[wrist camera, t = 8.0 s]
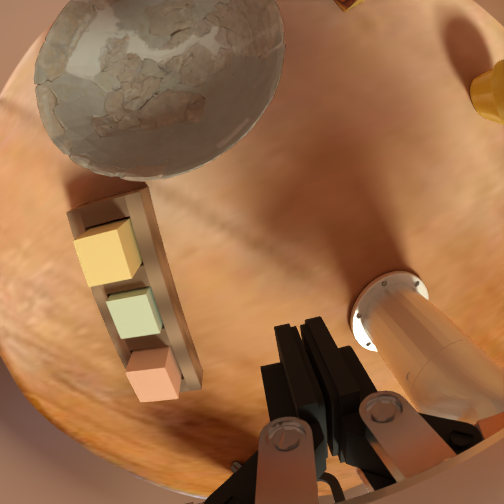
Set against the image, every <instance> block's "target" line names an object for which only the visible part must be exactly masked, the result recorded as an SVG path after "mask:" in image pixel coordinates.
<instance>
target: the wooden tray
mask: <svg viewBox="0 0 504 504" xmlns="http://www.w3.org/2000/svg"><path fill="white" fill-rule="evenodd" d="M66 213H67V216H68V220H69V223H70V227H71V230H72V233H73V237H74V240H75V239H76V238H77V237H79V236H80V235H82V234H83V233H84V232H86V231H87V230H89V229H90V228H92V227H96V226H99V224H101V223H105V222H108V221H112V220H116V219H120V218H124V217H128V216H130V218H131V222H132V226H133V229H134V233H135V237H136V240H137V244H138V247H139V250H140V254H141V257H142V260H143V262H142V263H141V265H140V266H139V268H138V270H137V271H136V273H135V274H134V276H133V278H132V279H127V280H122V281H117V282H112V283H107V284H102V285H97V286H92V287H91V290H92V292H93V295H94V297H95V300H96V303H97V305H98V308H99V310H100V313H101V315H102V317H103V320H104V322H105V325H106V327H107V329H108V332H109V334H110V336H111V339H112V341H113V343H114V345H115V347H116V350H117V352H118V354H119V356H120V358H121V360H122V362H123V365H124V367H125V369H126V368H127V365H128V362H129V360H130V357H131V354H132V352H133V350H140V349H147V348H154V347H161V346H167V345H171V346H172V349H173V351H174V354H175V356H176V359H177V362H178V364H179V367H180V369H181V372H182V377H181V384H180V391H179V392H186V391H193V390H200V389H202V376H203V370H202V367H201V364H200V361H199V359H198V356H197V353H196V350H195V347H194V344H193V341H192V338H191V335H190V332H189V329H188V326H187V323H186V320H185V317H184V314H183V311H182V307H181V304H180V301H179V298H178V294H177V291H176V288H175V285H174V281H173V278H172V274H171V271H170V268H169V264H168V261H167V257H166V253H165V250H164V246H163V242H162V239H161V235H160V231H159V228H158V224H157V220H156V216H155V212H154V208H153V204H152V200H151V196H150V192H149V187H145V188H141V189H137V190H133V191H129V192H126V193H122V194H118V195H115V196H111V197H108V198H104V199H101V200H97V201H94V202H91V203H87V204H84V205H81V206H79V207H77V208H74V209H72V210H70V211H68V212H66ZM147 286H151V289H152V292H153V295H154V298H155V301H156V304H157V307H158V310H159V313H160V316H161V318H162V321H163V325H162V328H161V332H160V333H158V334H152V335H145V336H138V337H132V338H125V339H121V338H120V335H119V333H118V331H117V328H116V326H115V323H114V321H113V319H112V316H111V314H110V311H109V309H108V306H107V303H106V301H107V299H108V298H109V296H110V295H111V293H116V292H121V291H126V290H131V289H136V288H142V287H147Z"/></svg>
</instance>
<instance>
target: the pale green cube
mask: <svg viewBox="0 0 504 504" xmlns="http://www.w3.org/2000/svg"><path fill="white" fill-rule="evenodd" d="M106 303H107V306H108V309H109V311H110V314H111V316H112V319H113V321H114V323H115V326H116V328H117V331H118V333H119V335H120V338H121V339H125V338H132V337H138V336H145V335H152V334H158V333H160V332H161V328H162V325H163V321H162V318H161V316H160V313H159V310H158V307H157V304H156V301H155V298H154V295H153V292H152V289H151V286H147V287H142V288H136V289H131V290H126V291H121V292H116V293H111V295H110V296H109V298H108V299H107V301H106Z"/></svg>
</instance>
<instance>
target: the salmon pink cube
mask: <svg viewBox="0 0 504 504" xmlns="http://www.w3.org/2000/svg"><path fill="white" fill-rule="evenodd" d="M125 373H126V375H127V377H128V379H129V381H130V383H131V385H132V387H133V389H134V391H135V393H136V395H137V397H138V398H139V400H140V402H151V401H161V400H171V399H179V391H180V384H181V377H182V372H181V369H180V367H179V364H178V362H177V359H176V356H175V354H174V351H173V349H172V346H171V345H167V346H161V347H154V348H147V349H140V350H133V352H132V354H131V357H130V360H129V362H128V365H127V368H126V371H125Z"/></svg>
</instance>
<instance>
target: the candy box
mask: <svg viewBox="0 0 504 504" xmlns="http://www.w3.org/2000/svg"><path fill="white" fill-rule="evenodd" d="M334 1H335V2H336V3H337V4H338V5H339V7H340V8H341V9H342V10H343V11H344V12H346V11H347V10H349V9H351V8H353V7H355V6H356V5H358V4H360V3H362V2H364V1H365V0H334Z"/></svg>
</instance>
